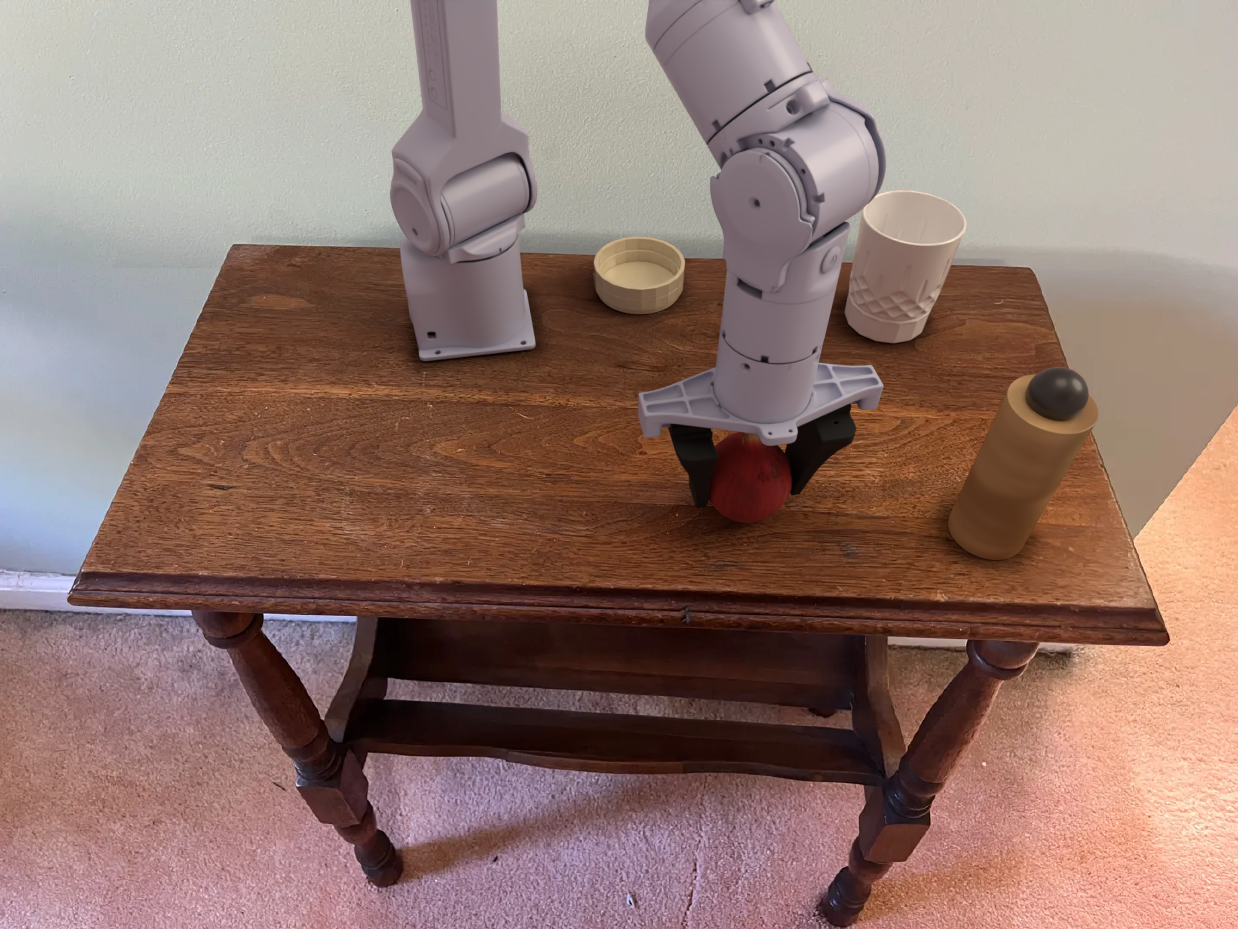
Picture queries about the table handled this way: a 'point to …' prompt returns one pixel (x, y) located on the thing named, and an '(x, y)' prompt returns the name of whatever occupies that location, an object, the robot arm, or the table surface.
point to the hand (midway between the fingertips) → (744, 490)
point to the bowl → (639, 274)
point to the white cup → (901, 263)
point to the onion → (749, 478)
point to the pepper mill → (1022, 462)
